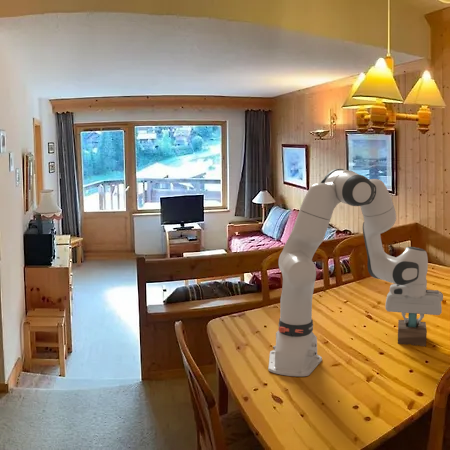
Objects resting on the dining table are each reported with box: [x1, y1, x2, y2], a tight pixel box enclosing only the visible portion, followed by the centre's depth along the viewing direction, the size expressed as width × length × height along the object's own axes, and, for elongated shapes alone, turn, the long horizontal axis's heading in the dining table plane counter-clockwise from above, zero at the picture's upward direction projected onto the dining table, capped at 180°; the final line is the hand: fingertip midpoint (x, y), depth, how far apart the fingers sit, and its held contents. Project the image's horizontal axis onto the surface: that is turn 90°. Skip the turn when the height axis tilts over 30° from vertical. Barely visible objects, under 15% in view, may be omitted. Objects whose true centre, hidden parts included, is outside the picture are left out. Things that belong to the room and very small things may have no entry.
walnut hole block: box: [397, 319, 428, 347], centre depth 204 cm, size 10×10×6 cm
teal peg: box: [408, 313, 418, 328], centre depth 204 cm, size 3×3×10 cm
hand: (412, 323), depth 204 cm, fingers closed on teal peg, 3 cm apart
